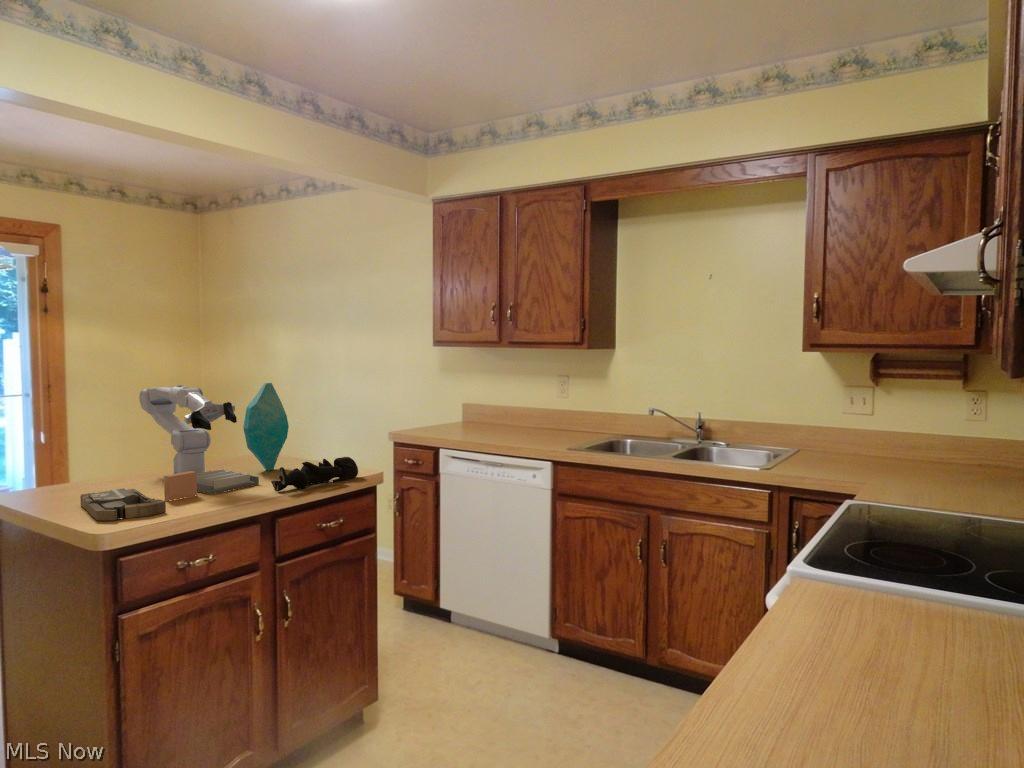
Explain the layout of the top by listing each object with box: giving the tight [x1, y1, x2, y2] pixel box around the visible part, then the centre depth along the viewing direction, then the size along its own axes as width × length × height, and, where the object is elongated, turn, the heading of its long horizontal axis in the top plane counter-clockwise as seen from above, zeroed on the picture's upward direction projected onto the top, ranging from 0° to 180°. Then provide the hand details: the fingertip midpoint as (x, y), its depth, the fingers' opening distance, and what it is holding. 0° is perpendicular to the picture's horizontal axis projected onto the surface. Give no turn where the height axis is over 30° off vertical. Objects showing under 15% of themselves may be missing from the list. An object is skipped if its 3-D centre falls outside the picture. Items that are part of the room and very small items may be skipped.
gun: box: [80, 488, 167, 521], centre depth 171 cm, size 4×24×15 cm
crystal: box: [242, 382, 289, 472], centre depth 222 cm, size 12×14×30 cm
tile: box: [163, 471, 198, 501], centre depth 183 cm, size 2×8×7 cm, turn 148°
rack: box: [197, 468, 260, 495], centre depth 199 cm, size 17×16×4 cm
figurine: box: [270, 456, 359, 492], centre depth 202 cm, size 8×30×8 cm, turn 142°
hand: (222, 423), depth 192 cm, fingers open, 7 cm apart
